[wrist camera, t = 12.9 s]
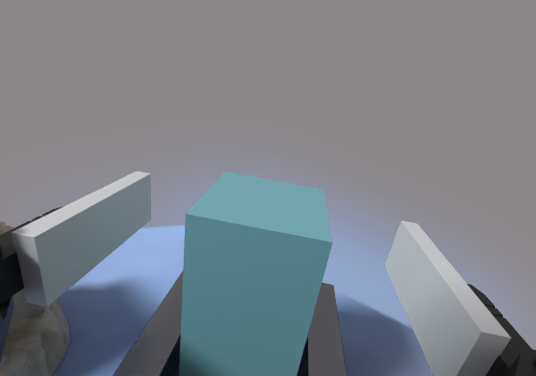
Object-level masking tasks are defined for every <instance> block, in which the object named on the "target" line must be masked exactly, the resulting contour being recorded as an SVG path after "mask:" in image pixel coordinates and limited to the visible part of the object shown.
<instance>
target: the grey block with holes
mask: <svg viewBox="0 0 536 376" xmlns="http://www.w3.org/2000/svg"><path fill="white" fill-rule="evenodd" d="M182 292H183V271H182V273H181V274H180V276H179V277H178V279H177V280H176V282H175V283H174V285H173V286H172V288H171V289H170V291H169V292H168V294H167V295H166V297H165V298H164V300H163V301H162V303H161V304H160V306H159V307H158V309H157V310H156V312H155V313H154V315H153V316H152V318H151V319H150V321H149V322H148V324H147V325H146V327H145V328H144V330H143V331H142V333H141V334H140V336H139V337H138V339H137V340H136V342H135V343H134V345H133V346H132V348H131V349H130V351H129V352H128V354H127V355H126V357H125V358H124V360H123V361H122V363H121V364H120V366H119V367H118V369H117V370H116V372H115V373H114V375H113V376H179V365H180V341H181V316H182ZM297 376H347V375H346V368H345V361H344V354H343V347H342V341H341V334H340V327H339V320H338V313H337V306H336V299H335V292H334V285H330V284H325V283H321V287H320V291H319V295H318V298H317V302H316V306H315V309H314V313H313V317H312V321H311V324H310V328H309V332H308V335H307V339H306V343H305V346H304V350H303V354H302V358H301V361H300V365H299V369H298V372H297Z"/></svg>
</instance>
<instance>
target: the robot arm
mask: <svg viewBox="0 0 536 376" xmlns="http://www.w3.org/2000/svg"><path fill="white" fill-rule="evenodd" d="M150 197H151V186H150V174H148V173H144V172H138V171H136V172H134V173H132V174H130V175H128V176H126V177H124V178H122V179H120V180H118V181H116V182H114V183H111V184H110V185H108V186H106V187H103V188H101V189H99V190H97V191H95V192H93V193H91V194H89V195H87V196H85V197H83V198H81V199H79V200H77V201H75V202H73V203H71V204H68V205H66V206H64V207H60V208H56V209H53V210H51V211H49V212H47V213H45V214H43V215H42V216H39V217H36V218H35V219H33V220H32V221H28V222H26V223H24V224H22V225H20V226H18V227H16V228H13V229H11V230H9V231H7V232H5V233H3V234H1V235H0V363H1V359H2V355H3V351H4V346H5V342H6V338H7V334H8V330H9V326H10V321H11V317H12V313H13V309H14V305H15V304H14V299H13V295H15V294H16V293H18V292H19V291H20V290H22V289H23V288H24V293H25V297H26V302H28V303H32V304H37V305H41V306H45V307H48V306H49V305H50V304H51V303H53V302H54V301H55V300H56V299H57V298H59V297H60V296H61V295H62V294H63V293H64V292H66V291H67V290H68V289H69V288H70V287H72V286H73V285H74V284H75V283H76V282H77V281H79V280H80V279H81V278H82V277H83V276H85V275H86V274H87V273H88V272H89V271H90V270H92V269H93V268H94V267H95V266H96V265H98V264H99V263H100V262H101V261H102V260H103V259H105V258H106V257H107V256H108V255H109V254H111V253H112V252H113V251H114V250H115V249H116V248H118V247H119V246H120V245H121V244H122V243H124V242H125V241H126V240H127V239H128V238H130V237H131V236H132V235H133V234H134V233H135V232H137V231H138V230H139V229H140V228H141V227H142V226H144V225H145V224H146V223H147V222H148V221H150V220H151V198H150ZM385 267H386V270H387V272H388V274H389V277H390V279H391V281H392V283H393V285H394V288H395V290H396V292H397V295H398V297H399V299H400V301H401V304H402V306H403V308H404V310H405V312H406V315H407V317H408V319H409V322H410V324H411V326H412V328H413V331H414V333H415V335H416V337H417V340H418V342H419V344H420V346H421V349H422V351H423V353H424V355H425V358H426V360H427V362H428V364H429V367H430V369H431V371H432V373H433V376H536V350H533V349H531V348H530V346H529V345H528V344H527V343H526V342H525V341H524V339H523V338H522V337H521V336H520V335H519V334H518V332H517V331H516V330H515V329H514V328H513V327H512V326H511V324H510V323H509V322H508V321H507V320H506V319H505V318H503V315H502V314H501V313H500V312H499V311H498V309H496V308H495V306H494V305H493V304H492V302H491V301H490V300H489V299H488V298H487V297H486V296H485V295H484V294H483V293H481V292H480V291H479V290H478V289H476V288H475V287H474V286H472V285H470V284H466V282H465V281H464V280H463V279H462V278H461V276H460V275H459V274H458V273H457V272H456V270H455V269H454V268H453V267H452V265H451V264H450V263H449V262H448V261H447V260H446V258H445V257H444V256H443V255H442V253H441V252H440V251H439V250H438V249H437V247H436V246H435V245H434V244H433V242H432V241H431V240H430V239H429V238H428V236H427V235H426V234H425V233H424V231H423V230H422V229H421V228H420V227H419V225H418V224H416V223H411V222H405V221H401V223H400V226H399V229H398V232H397V234H396V237H395V240H394V243H393V245H392V248H391V251H390V253H389V256H388V259H387V262H386V264H385Z"/></svg>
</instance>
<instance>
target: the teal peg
mask: <svg viewBox="0 0 536 376" xmlns="http://www.w3.org/2000/svg"><path fill="white" fill-rule="evenodd" d="M331 246H332V236H331V231H330V226H329V220H328V214H327V209H326V203H325V197H324V192H323V189H318V188H312V187H307V186H301V185H295V184H290V183H284V182H279V181H273V180H267V179H262V178H256V177H251V176H246V175H240V174H235V173H229V172H225V173H224V174H223V175H222V176H221V177H220V178H219V179H218V181H217V182H216V183H215V184H214V185H213V186H212V187H211V188H210V189H209V190H208V191H207V192H206V193H205V194H204V195H203V196H202V197H201V199H199V200H198V201H197V203H196V204H195V205H194V206H193V207H192V208H191V209H190V210H189V211H188V212H187V213H186V220H185V244H184V268H183V292H182V316H181V341H180V365H179V376H297V372H298V369H299V365H300V361H301V358H302V354H303V350H304V346H305V343H306V339H307V335H308V332H309V328H310V324H311V321H312V317H313V313H314V309H315V306H316V302H317V298H318V295H319V291H320V287H321V283H322V279H323V276H324V272H325V268H326V265H327V261H328V257H329V254H330V250H331Z"/></svg>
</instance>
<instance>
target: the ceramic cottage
mask: <svg viewBox="0 0 536 376" xmlns="http://www.w3.org/2000/svg"><path fill="white" fill-rule="evenodd" d="M11 229H13V227H10V226H7V225H5V223H4V222H0V235H1V234H3V233H5V232H7V231H9V230H11ZM13 299H14V304H15V305H14V309H13V313H12V317H11V321H10V326H9V330H8V334H7V338H6V342H5V346H4V351H3V355H2V359H1V363H0V376H53V375H54V373H55V372H56V370H57V369H58V367H59V365H60V364H61V362H62V361H63V359H64V357H65V355H66V349H67V348H68V346H69V345H70V343H71V341H70V334H69V325H68V321H67V319H66V317H65V315H64V313H63V310H62V308H61V305H60V303H59V301H58V298H57V299H56V300H55V301H54V302H53V303H51V304H50V305H49V306H48V307H45V306H41V305H37V304H32V303H28V302H26V297H25V293H24V288H23V289H22V290H20V291H19V292H18V293H16V294H15V295H13Z"/></svg>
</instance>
